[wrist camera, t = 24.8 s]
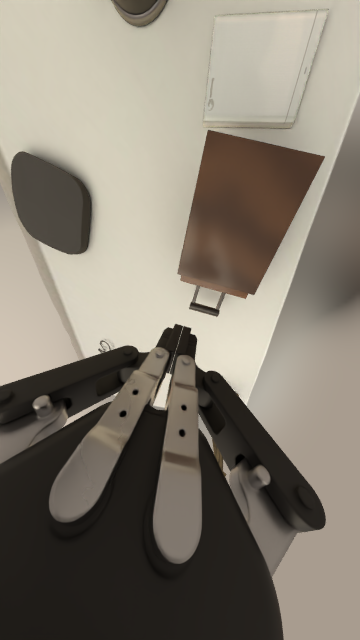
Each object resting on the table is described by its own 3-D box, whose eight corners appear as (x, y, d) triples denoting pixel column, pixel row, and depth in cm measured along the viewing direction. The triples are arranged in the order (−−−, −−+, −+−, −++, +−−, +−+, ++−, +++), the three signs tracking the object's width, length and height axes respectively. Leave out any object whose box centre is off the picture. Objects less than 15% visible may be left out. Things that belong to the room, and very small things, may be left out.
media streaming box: (94, 186, 28) (82, 180, 26) (88, 259, 35) (78, 260, 33) (22, 149, 28) (3, 139, 25) (31, 232, 35) (17, 231, 32)
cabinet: (242, 280, 32) (254, 295, 23) (185, 265, 32) (177, 273, 24) (284, 186, 24) (325, 156, 15) (208, 168, 24) (207, 129, 16)
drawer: (227, 310, 34) (232, 327, 27) (180, 296, 35) (173, 310, 28) (274, 202, 24) (300, 187, 17) (207, 186, 25) (206, 164, 18)
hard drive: (202, 120, 21) (294, 121, 19) (214, 12, 17) (331, 3, 15) (203, 128, 22) (289, 129, 21) (214, 30, 18) (321, 23, 17)
